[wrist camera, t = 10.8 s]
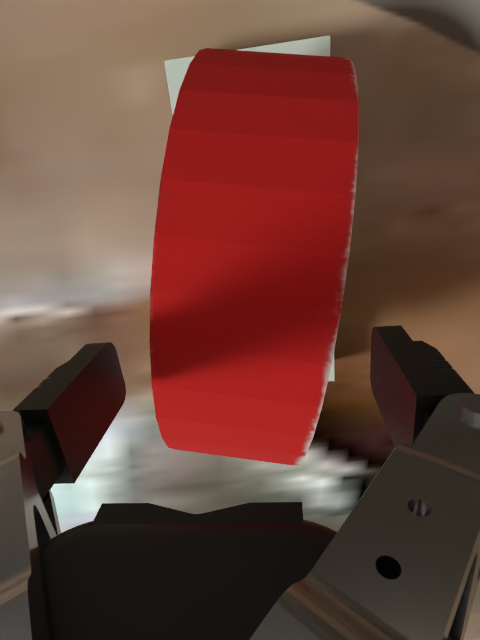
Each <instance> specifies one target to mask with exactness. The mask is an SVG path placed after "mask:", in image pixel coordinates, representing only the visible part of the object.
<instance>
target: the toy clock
mask: <svg viewBox="0 0 480 640" xmlns="http://www.w3.org/2000/svg"><path fill="white" fill-rule="evenodd" d="M358 148H359V96H358V84H357V74H356V71H355V67H354V64H353V61H352V60H350V59H349V58H345V57H330V56H315V55H300V54H286V53H271V52H256V51H241V50H226V49H211V48H206V49H202V50H199V51H198V53H197V54H196V56H195V57H194V58H193V60H192V61H191V62H190V64H189V67H188V69H187V72H186V74H185V77H184V80H183V82H182V85H181V87H180V90H179V94H178V98H177V102H176V106H175V109H174V113H173V117H172V121H171V125H170V129H169V135H168V141H167V146H166V152H165V158H164V163H163V169H162V175H161V181H160V190H159V199H158V208H157V216H156V225H155V234H154V247H153V262H152V276H151V290H150V358H151V376H152V389H153V397H154V405H155V413H156V419H157V422H158V425H159V429H160V432H161V436H162V438H163V440H164V441H165V443H166V445H167V446H168V448H172V449H176V450H183V451H191V452H198V453H206V454H213V455H221V456H228V457H235V458H243V459H250V460H258V461H265V462H272V463H280V464H287V465H299V464H300V463H301V461H302V460H303V459H304V457H305V455H306V453H307V451H308V448H309V446H310V443H311V441H312V439H313V436H314V432H315V429H316V426H317V422H318V419H319V415H320V412H321V409H322V405H323V400H324V396H325V392H326V387H327V383H328V378H329V374H330V370H331V365H332V360H333V355H334V349H335V343H336V338H337V332H338V327H339V321H340V316H341V310H342V303H343V296H344V289H345V282H346V275H347V268H348V261H349V254H350V244H351V234H352V225H353V215H354V206H355V196H356V180H357V164H358Z"/></svg>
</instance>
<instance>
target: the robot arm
mask: <svg viewBox="0 0 480 640" xmlns="http://www.w3.org/2000/svg"><path fill="white" fill-rule="evenodd" d="M370 378H371V387H372V391H373V395H374V397H375V400H376V402H377V404H378V407H379V409H380V412H381V414H382V416H383V419H384V421H385V424H386V426H387V428H388V431H389V433H390V435H391V438H392V440H393V443H394V445H395V447H396V448H395V449H394V450H393V452H392V453H391V455H390V456H389V458H388V459H387V461H386V462H385V464H384V465H383V466H382V468H381V469H380V471H379V472H378V474H377V475H376V477H375V478H374V480H373V481H372V482H371V484H370V485H369V487H368V488H367V490H366V491H365V493H364V494H363V496H362V497H361V499H360V500H359V501H358V503H357V504H356V506H355V507H354V509H353V510H352V512H351V513H350V515H349V516H348V517H347V519H346V520H345V522H344V523H343V525H342V526H341V528H340V529H339V531H338V532H336V531H334V530H332V529H330V528H328V527H325V526H323V525H320V524H317V523H314V522H311V521H307V520H303V511H302V502H268V503H246V504H242V505H238V506H233V507H229V508H225V509H220V510H216V511H212V512H207V513H203V514H190V513H186V512H182V511H178V510H174V509H170V508H166V507H162V506H158V505H154V504H150V503H112V504H102V505H101V507H100V509H99V511H98V513H97V515H96V517H95V519H94V521H92V522H88V523H85V524H82V525H79V526H76V527H74V528H72V529H69V530H67V531H65V532H63V533H61V531H60V526H59V521H58V517H57V512H56V507H55V502H54V498H53V495H52V493H51V490H50V489H51V487H52V486H53V484H60V483H75V481H76V480H77V478H78V476H79V475H80V473H81V471H82V470H83V468H84V467H85V465H86V463H87V462H88V460H89V459H90V457H91V455H92V454H93V452H94V450H95V449H96V447H97V446H98V444H99V442H100V441H101V439H102V437H103V436H104V434H105V433H106V431H107V429H108V428H109V426H110V424H111V423H112V421H113V420H114V418H115V416H116V415H117V413H118V412H119V410H120V408H121V407H122V405H123V403H124V400H125V395H126V387H125V382H124V378H123V375H122V371H121V367H120V363H119V359H118V355H117V352H116V348H115V346H114V345H113V344H112V343H110V342H108V343H92V344H86V345H85V346H84V347H83V348H82V349H81V350H80V351H79V352H78V353H77V354H76V355H74V356H73V357H72V358H71V359H70V360H69V361H68V362H66V363H64V364H63V365H61V366H59V367H58V368H56V369H55V370H54V371H53V372H52V373H51V374H50V375H49V376H48V377H47V379H46V380H44V381H43V382H42V383H41V384H39V385H38V388H35V389H34V390H33V391H32V392H31V393H30V394H29V395H28V396H27V397H26V398H25V399H24V400H23V401H22V402H21V403H20V404H19V405H18V406H17V407H16V408H15V409H13V410H12V411H0V640H463V639H464V635H465V632H466V628H467V624H468V620H469V616H470V612H471V609H472V605H473V601H474V598H475V594H476V591H477V588H478V584H479V581H480V395H479V394H475V393H474V392H473V391H472V390H471V389H470V388H469V386H468V385H467V384H466V383H465V382H464V381H463V379H462V378H461V377H460V376H459V375H458V374H457V372H456V371H455V370H454V369H452V366H451V365H450V364H449V363H448V362H447V361H445V358H444V357H443V356H442V355H441V354H440V352H439V351H438V350H437V349H436V348H434V347H432V346H430V345H429V344H427V343H425V342H423V341H412V339H411V338H410V337H409V335H408V334H407V333H406V331H405V330H404V329H403V327H402V326H400V325H399V326H383V327H374V328H373V330H372V339H371V370H370Z"/></svg>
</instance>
